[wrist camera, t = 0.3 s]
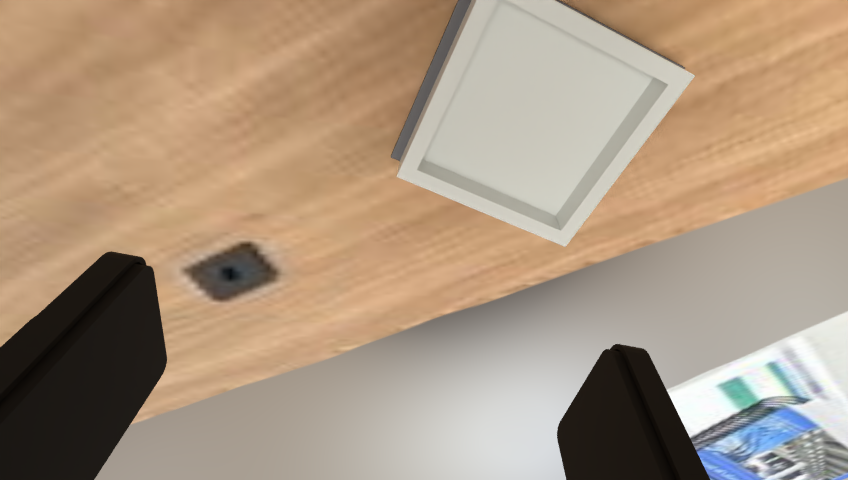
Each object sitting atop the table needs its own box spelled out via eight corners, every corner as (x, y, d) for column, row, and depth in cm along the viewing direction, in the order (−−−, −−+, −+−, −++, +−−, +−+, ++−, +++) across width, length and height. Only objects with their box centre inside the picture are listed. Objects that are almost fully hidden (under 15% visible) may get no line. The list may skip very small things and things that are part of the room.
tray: (487, -36, 30) (491, -34, 28) (675, 64, 33) (695, 75, 31) (400, 160, 38) (396, 176, 36) (557, 226, 41) (565, 246, 39)
